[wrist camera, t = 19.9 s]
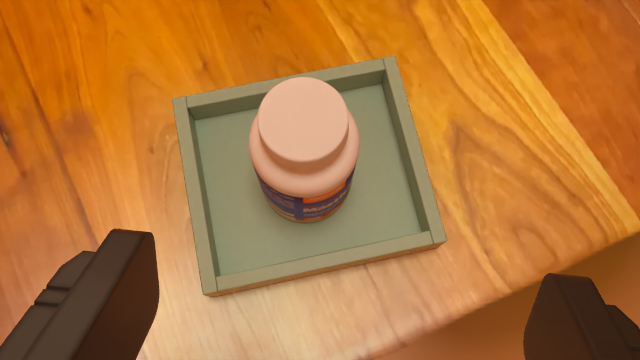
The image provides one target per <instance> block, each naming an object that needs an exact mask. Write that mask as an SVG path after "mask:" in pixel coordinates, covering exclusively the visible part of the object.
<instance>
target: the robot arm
mask: <svg viewBox="0 0 640 360" xmlns="http://www.w3.org/2000/svg"><path fill="white" fill-rule="evenodd" d="M34 302H35V303H34V305H31V306H30V308H29V309H28V310H27V312H26V313H25V314H24V316H23V317H22V318H21V320H20V321H19V322H18V324H17V325H16V326H15V328H14V329H13V330H12V332H11V333H10V334H9V335H8V337H7V338H6V339H5V341H4V342H3V343H2V345H1V346H0V360H136V358H137V356H138V353H139V351H140V349H141V347H142V345H143V343H144V340H145V338H146V336H147V334H148V332H149V329H150V327H151V325H152V323H153V321H154V318H155V315H156V312H157V308H158V303H159V280H158V270H157V260H156V250H155V241H154V236H153V234H152V233H151V232H143V231H133V230H123V229H113V230H111V231H110V233H109V234H108V235H107V237H106V238H105V240H104V241H103V242H102V244H101V245H100V247H99V248H98V250H97V251H96V252H91V251H83V252H81V253H80V254H78V255H77V256H75V257H74V258H72V259H71V260H69V261H68V262H66V263H65V264H63V265H62V266H61V267H60V268H59V270H58V271H57V272H56V273H55V275H54V276H53V277H52V279H51V280H50V281H49V283H48V284H47V287H46V289H43V291H42V292H41V293H40V295H39V296H38V297H37V299H36V300H35V301H34ZM523 346H524V355H525V359H526V360H640V329H639V327H638V326H637V325H636V324H635V323H634V322H633V321H632V320H631V319H629V318H628V317H627V316H626V315H625V314H624V313H623V312H622V311H621V310H620V309H618V308H617V307H616V306H615V305H606V304H605V302H604V301H603V299H602V297H601V295H600V294H599V292H598V290H597V288H596V286H595V285H594V283H593V281H592V280H591V279H590V278H588V277H582V276H572V275H563V274H553V273H549V274H547V275H546V276H545V277H544V279H543V281H542V284H541V286H540V289H539V292H538V294H537V297H536V300H535V303H534V305H533V308H532V311H531V313H530V316H529V319H528V322H527V324H526V327H525V331H524V340H523Z"/></svg>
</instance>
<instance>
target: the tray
mask: <svg viewBox="0 0 640 360" xmlns="http://www.w3.org/2000/svg"><path fill="white" fill-rule="evenodd" d="M297 77H310V78H315V79H318V80H321V81H323V82H325V83H327V84H329V85H330V86H332V87H333V88H334V89H335V90H336V91H337V92H338V93H339V94H340V95H341V97H342V98H343V100H344V102H345V104H346V107H347V109H348V110H349V112H350V113H351V115H352V117H353V118H354V120H355V122H356V125H357V128H358V131H359V137H360V148H359V154H358V159H357V163H356V166H355V170H354V174H353V179H352V183H351V187H350V190H349V193H348V195H347V198H346V199H345V201H344V203H343V204H342V205H341V207H340V208H339V209H338V210H337V211H336V212H334V213H333V214H332V215H330V216H328V217H327V218H325V219H322V220H319V221H315V222H307V223H304V222H296V221H292V220H289V219H287V218H285V217H283V216H281V215H280V214H279V213H277V212H276V211H275V210H274V209H273V208H272V207H271V206H270V204H269V203H268V201H267V200H266V198H265V196H264V194H263V191H262V189H261V186H260V183H259V180H258V177H257V175H256V172H255V169H254V166H253V163H252V160H251V156H250V151H249V134H250V129H251V126H252V123H253V121H254V119H255V117H256V116H257V114H258V111H259V107H260V105H261V102H262V100H263V99H264V97H265V96H266V94H267V93H268V92H269V91H270V90H271V89H272V88H274V87H275V86H276V85H278V84H279V83H281V82H283V81H286V80H288V79H292V78H297ZM172 102H173V109H174V115H175V121H176V128H177V134H178V140H179V147H180V153H181V159H182V166H183V172H184V178H185V185H186V191H187V197H188V204H189V210H190V216H191V222H192V229H193V235H194V241H195V248H196V254H197V260H198V267H199V273H200V279H201V286H202V292H203V295H206V296H209V297H215V296H220V295H224V294H229V293H234V292H238V291H243V290H247V289H252V288H256V287H261V286H265V285H270V284H274V283H279V282H284V281H288V280H293V279H297V278H302V277H306V276H311V275H315V274H320V273H324V272H329V271H334V270H338V269H343V268H347V267H352V266H356V265H361V264H365V263H370V262H374V261H379V260H384V259H388V258H393V257H397V256H402V255H406V254H411V253H415V252H420V251H424V250H429V249H434V248H437V247H439V246H440V245H442V244H443V243H445V242H447V238H446V234H445V230H444V227H443V223H442V220H441V216H440V213H439V209H438V206H437V202H436V199H435V195H434V192H433V188H432V184H431V181H430V177H429V174H428V170H427V167H426V163H425V160H424V156H423V153H422V149H421V146H420V142H419V138H418V135H417V131H416V128H415V124H414V121H413V117H412V114H411V110H410V107H409V103H408V100H407V96H406V92H405V89H404V85H403V82H402V78H401V75H400V71H399V68H398V64H397V61H396V57H395V56H390V57H385V58H383V59H382V58H380V59H375V60H370V61H365V62H359V63H354V64H349V65H344V66H339V67H334V68H328V69H323V70H318V71H313V72H308V73H303V74H297V75H292V76H287V77H282V78H277V79H272V80H266V81H261V82H256V83H251V84H246V85H241V86H235V87H230V88H225V89H220V90H215V91H210V92H204V93H199V94H194V95H189V96H186V97H185V96H183V97H178V98H173V99H172Z"/></svg>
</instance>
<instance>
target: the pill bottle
mask: <svg viewBox="0 0 640 360" xmlns="http://www.w3.org/2000/svg"><path fill="white" fill-rule="evenodd" d="M359 148H360V137H359V131H358V128H357V125H356V122H355V120H354V118H353V117H352V115H351V113H350V112H349V110H348V109H347V107H346V104H345V102H344V100H343V98H342V97H341V95H340V94H339V93H338V92H337V91H336V90H335V89H334V88H333V87H332V86H330V85H329V84H327V83H325V82H323V81H321V80H318V79H315V78H310V77H297V78H292V79H288V80H286V81H283V82H281V83H279V84H278V85H276V86H275V87H274V88H272V89H271V90H270V91H269V92H268V93H267V94H266V96H265V97H264V99H263V100H262V102H261V105H260V107H259V111H258V114H257V116H256V117H255V119H254V121H253V123H252V126H251V129H250V134H249V151H250V156H251V160H252V163H253V166H254V169H255V172H256V175H257V177H258V180H259V183H260V186H261V189H262V191H263V194H264V196H265V198H266V200H267V201H268V203H269V204H270V206H271V207H272V208H273V209H274V210H275V211H276V212H277V213H279V214H280V215H281V216H283V217H285V218H287V219H289V220H292V221H296V222H304V223H307V222H315V221H319V220H322V219H325V218H327V217H328V216H330V215H332V214H333V213H334V212H336V211H337V210H338V209H339V208H340V207H341V205H342V204H343V203H344V201H345V199H346V198H347V195H348V193H349V190H350V187H351V183H352V179H353V174H354V170H355V166H356V163H357V159H358V154H359Z"/></svg>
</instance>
